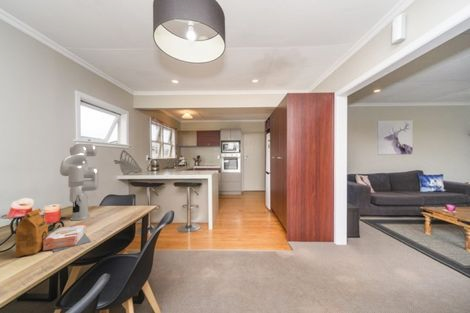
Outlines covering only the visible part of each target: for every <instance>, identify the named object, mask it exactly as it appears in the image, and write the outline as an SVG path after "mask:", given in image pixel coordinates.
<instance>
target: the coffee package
mask: <svg viewBox="0 0 470 313" xmlns="http://www.w3.org/2000/svg"><path fill="white" fill-rule="evenodd" d="M42 211H43V210H42V209H41V208H36V209H35V210H32V211H29V212H27V213H26V214H25V215H24V216H23V217H22V219H21V220H20V221H19V223H18V224H17V226H16V231H15V244H14V245H15V258H20V257H24V256H28V255H29V256H30V255H33V254H37V253H39V251H41V250H43V240H44V239H46V238H47V237H48V236H49V234H48V232H49V226H48V222H46V220H45V219H44V218H43V217H42V215H41V213H42Z"/></svg>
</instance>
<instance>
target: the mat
mask: <svg viewBox="0 0 470 313" xmlns="http://www.w3.org/2000/svg"><path fill="white" fill-rule="evenodd" d="M88 243H92V241H91V239H90V238H89V236H88V235H87V234H86V233H85V234H84V235H83V236H82V237H81V239H80V240H79V241H78V242H77V244H76V245H72V246H67V247H61V248H55V249H51V250H52V251H53V253H58V252H60V251H64V250H68V249H70V248H74V247H77V246H81V245H85V244H88Z"/></svg>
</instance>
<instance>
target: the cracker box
mask: <svg viewBox="0 0 470 313" xmlns="http://www.w3.org/2000/svg"><path fill="white" fill-rule="evenodd" d="M86 232H87V223H80V224H75V225H68V226H67V225H66V226H60V227H58V228H57V229H55V230H54V231H53V232H51V234H48V237H47V238H46V239H44V240H43V248H42V251H48V250H52V249H55V248H61V247H67V246H72V245H76V244H77V242H78V241H79V240H80V239H81V237H82V236H83V235H84V234H85V235H86Z"/></svg>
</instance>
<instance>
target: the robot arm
mask: <svg viewBox="0 0 470 313" xmlns="http://www.w3.org/2000/svg"><path fill="white" fill-rule="evenodd" d="M97 153H98V150H97V146H96V144H92V143H76V144H74V145H73V146H71V147H70V148H69V154H70V156H69V155H68V157H66V158H63V160H62V161H61V163H60V167H59V173H60V175H61V176H62V177H63V176H64V177H68V188H69V198H68V199H69V202H70V203H72V217H70V218H69V220H70V221H81V220H82V221H83V220H86V219H88V218H90V217H91V214H89V196H88V194H87V193H86V192H93V191H97V190H99V170H98V167H96V166H88V160H87V157H95V156H97Z"/></svg>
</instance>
